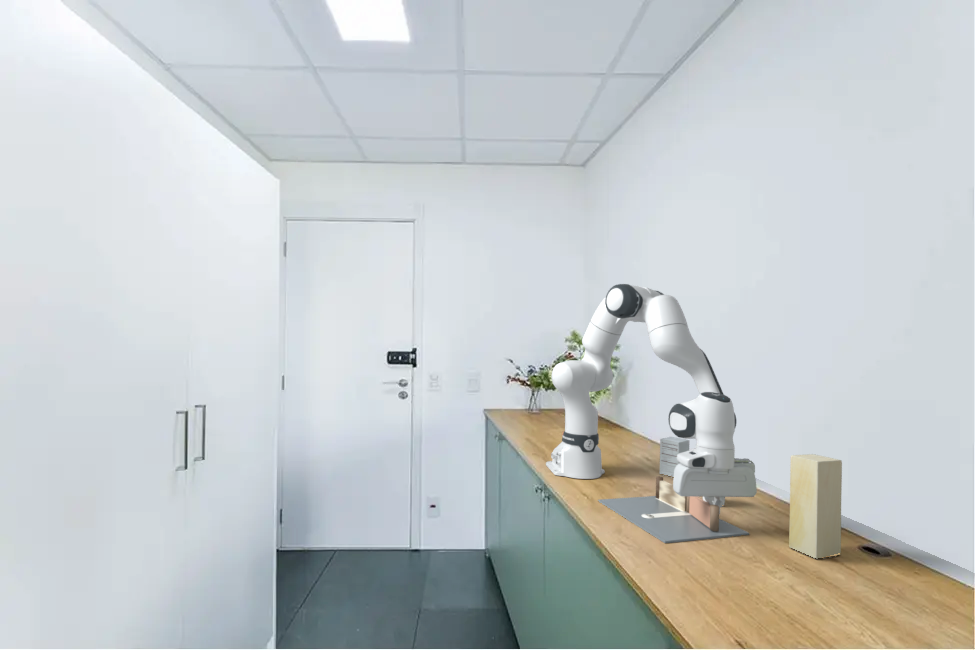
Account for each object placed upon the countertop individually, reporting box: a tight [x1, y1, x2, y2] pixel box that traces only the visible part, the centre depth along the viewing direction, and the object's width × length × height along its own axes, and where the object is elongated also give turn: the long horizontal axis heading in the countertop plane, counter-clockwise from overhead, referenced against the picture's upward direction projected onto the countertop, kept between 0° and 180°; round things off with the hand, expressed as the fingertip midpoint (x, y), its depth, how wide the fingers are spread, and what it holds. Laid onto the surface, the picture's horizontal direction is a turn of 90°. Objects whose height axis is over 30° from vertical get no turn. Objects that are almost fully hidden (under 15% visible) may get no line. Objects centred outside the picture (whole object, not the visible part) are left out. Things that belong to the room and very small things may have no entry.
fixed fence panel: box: [655, 475, 687, 511], centre depth 141 cm, size 13×2×6 cm, turn 17°
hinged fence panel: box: [686, 496, 720, 531], centre depth 128 cm, size 14×2×6 cm, turn 4°
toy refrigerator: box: [788, 453, 843, 560], centre depth 113 cm, size 8×7×21 cm
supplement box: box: [659, 436, 690, 478], centre depth 175 cm, size 7×7×13 cm
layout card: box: [597, 495, 750, 544], centre depth 132 cm, size 30×24×1 cm
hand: (714, 513), depth 125 cm, fingers closed
